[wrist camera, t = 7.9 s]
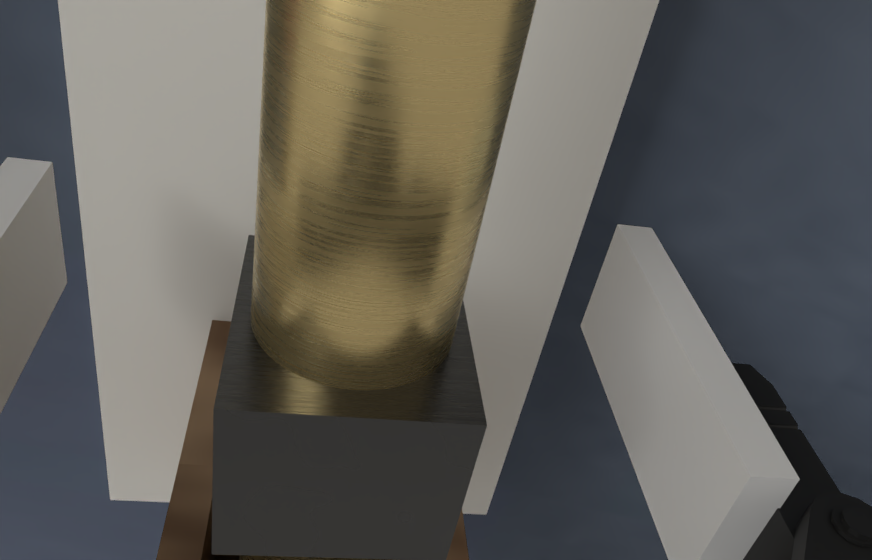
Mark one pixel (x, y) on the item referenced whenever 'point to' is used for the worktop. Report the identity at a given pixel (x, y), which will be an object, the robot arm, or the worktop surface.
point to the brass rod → (362, 280)
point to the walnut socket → (192, 492)
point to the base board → (237, 191)
